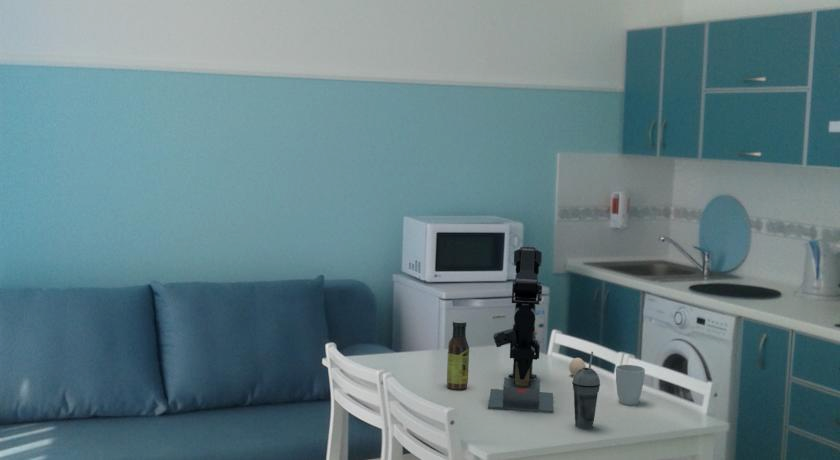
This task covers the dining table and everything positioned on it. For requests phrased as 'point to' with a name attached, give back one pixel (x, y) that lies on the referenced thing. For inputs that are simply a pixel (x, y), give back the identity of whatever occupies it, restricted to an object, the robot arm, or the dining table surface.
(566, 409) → the dining table surface
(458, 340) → the sauce bottle
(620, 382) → the cup
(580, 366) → the egg
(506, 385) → the stand
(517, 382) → the post
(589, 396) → the beverage cup
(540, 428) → the dining table surface
